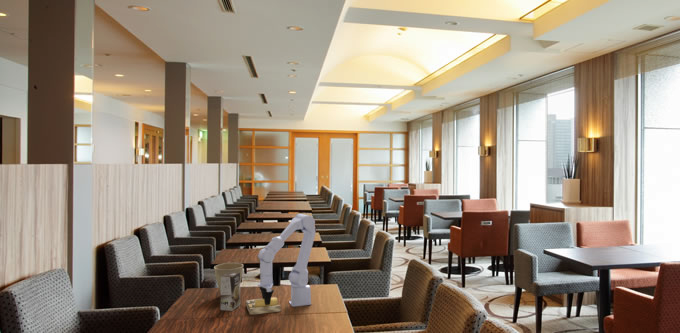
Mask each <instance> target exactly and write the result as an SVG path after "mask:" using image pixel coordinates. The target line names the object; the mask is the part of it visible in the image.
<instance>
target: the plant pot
mask: <svg viewBox="0 0 680 333" xmlns="http://www.w3.org/2000/svg"><path fill="white" fill-rule="evenodd" d="M213 270H214V275H215V279H216V283H217V284H216V285H217V287H218V290H219V293H220V294H221V276H223V275H225V274H227V273H228V272H231V273H232V272H237V273H240V284H241V282H242V278H243V272H244V271H243V270H244V264H243V263H239V262H225V263H219V264H217V265H214V267H213Z"/></svg>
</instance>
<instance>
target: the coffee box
mask: <svg viewBox="0 0 680 333" xmlns="http://www.w3.org/2000/svg"><path fill="white" fill-rule="evenodd" d="M240 306H241V283H240V273H237V272H232V273H231V272H228V273H227V274H225V275H223V276H221V293H220V310H221V311H229V312H233V311H234V310H235V309H237V308H238V307H240Z"/></svg>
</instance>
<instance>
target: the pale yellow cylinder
mask: <svg viewBox="0 0 680 333" xmlns="http://www.w3.org/2000/svg"><path fill="white" fill-rule="evenodd" d="M257 299H258V300H255V299H254V300H255V308H257V307H266V306H275V305H279V301H278V298H277V297H275V298H274V297H271V301H270V305H265V302H264V299H263V298H257Z"/></svg>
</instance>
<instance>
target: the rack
mask: <svg viewBox="0 0 680 333" xmlns="http://www.w3.org/2000/svg"><path fill="white" fill-rule="evenodd" d="M254 300H255V299H249V300H247V299H246V301H245V306H246V309H247V311H248V314H249V315H259V314H260V315H261V314H268V313H270V314H271V313H277V312H281V311H282V306H281V304H278V305H275V306H266V307H257V308H255V304H254Z"/></svg>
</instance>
